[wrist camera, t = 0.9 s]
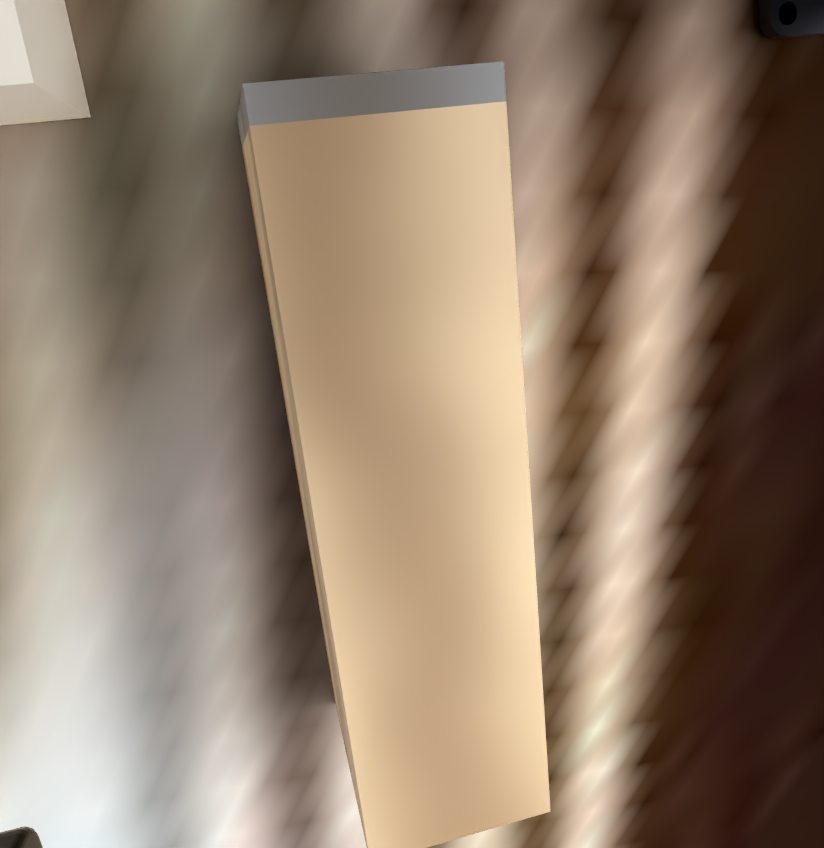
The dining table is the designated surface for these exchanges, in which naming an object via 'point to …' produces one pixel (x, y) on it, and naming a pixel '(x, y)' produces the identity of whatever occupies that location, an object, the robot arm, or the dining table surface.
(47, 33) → the headboard
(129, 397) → the dining table surface
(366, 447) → the rail
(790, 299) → the dining table surface
